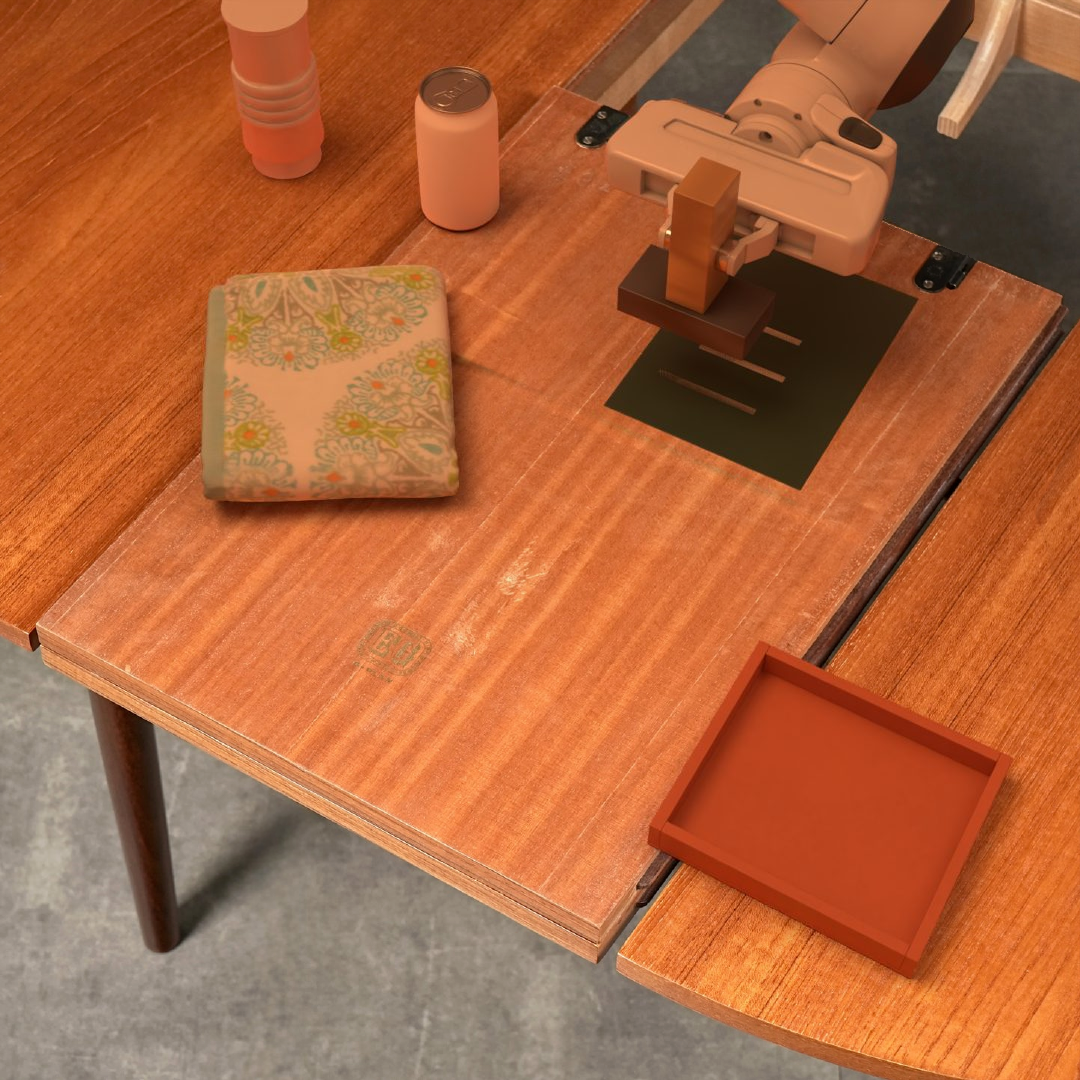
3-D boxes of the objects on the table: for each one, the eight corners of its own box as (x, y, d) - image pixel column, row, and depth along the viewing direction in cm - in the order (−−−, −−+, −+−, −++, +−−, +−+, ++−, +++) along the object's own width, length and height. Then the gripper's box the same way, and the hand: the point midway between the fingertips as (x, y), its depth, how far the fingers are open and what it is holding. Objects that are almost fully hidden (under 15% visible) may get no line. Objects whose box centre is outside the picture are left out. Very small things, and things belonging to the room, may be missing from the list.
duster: (773, 316, 121) (793, 184, 111) (742, 361, 119) (759, 230, 109) (649, 267, 124) (657, 133, 114) (616, 310, 122) (622, 177, 112)
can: (404, 209, 139) (395, 91, 130) (457, 169, 142) (452, 51, 133) (463, 245, 137) (458, 128, 127) (515, 203, 140) (514, 85, 130)
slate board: (916, 309, 133) (919, 298, 132) (798, 501, 122) (800, 490, 121) (732, 237, 138) (734, 226, 137) (602, 415, 126) (602, 405, 125)
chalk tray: (1005, 776, 108) (1013, 757, 106) (910, 979, 100) (918, 962, 98) (755, 660, 114) (759, 639, 111) (646, 843, 105) (649, 825, 103)
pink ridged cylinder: (300, 117, 146) (280, -33, 134) (342, 162, 143) (325, 11, 131) (230, 148, 144) (203, -3, 132) (271, 194, 140) (247, 44, 128)
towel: (449, 295, 134) (446, 247, 130) (461, 508, 121) (458, 463, 117) (217, 306, 133) (207, 259, 129) (204, 522, 120) (192, 477, 116)
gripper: (656, 57, 123) (563, 168, 116) (919, 150, 117) (837, 273, 110) (652, 126, 128) (562, 236, 121) (904, 219, 122) (824, 340, 115)
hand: (695, 255), depth 116 cm, fingers closed on duster, 3 cm apart
